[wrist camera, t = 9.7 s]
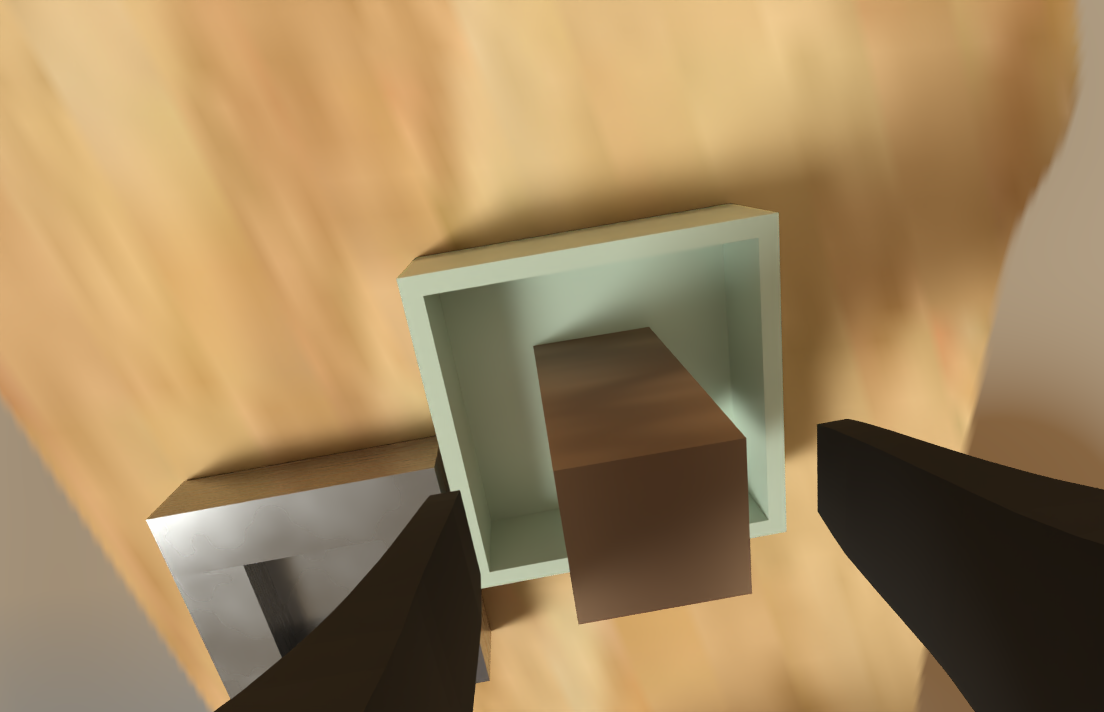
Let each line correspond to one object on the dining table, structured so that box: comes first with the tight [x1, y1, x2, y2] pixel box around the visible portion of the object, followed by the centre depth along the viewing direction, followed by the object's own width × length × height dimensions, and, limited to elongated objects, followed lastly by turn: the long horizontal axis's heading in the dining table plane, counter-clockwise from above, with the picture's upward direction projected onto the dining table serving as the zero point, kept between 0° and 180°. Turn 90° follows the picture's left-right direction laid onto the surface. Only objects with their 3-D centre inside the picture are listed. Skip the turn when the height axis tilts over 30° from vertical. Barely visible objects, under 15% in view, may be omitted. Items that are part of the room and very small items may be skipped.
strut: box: [533, 327, 752, 624], centre depth 14 cm, size 3×3×7 cm
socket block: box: [146, 436, 491, 699], centre depth 18 cm, size 8×8×2 cm
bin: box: [397, 203, 786, 589], centre depth 16 cm, size 9×9×3 cm
